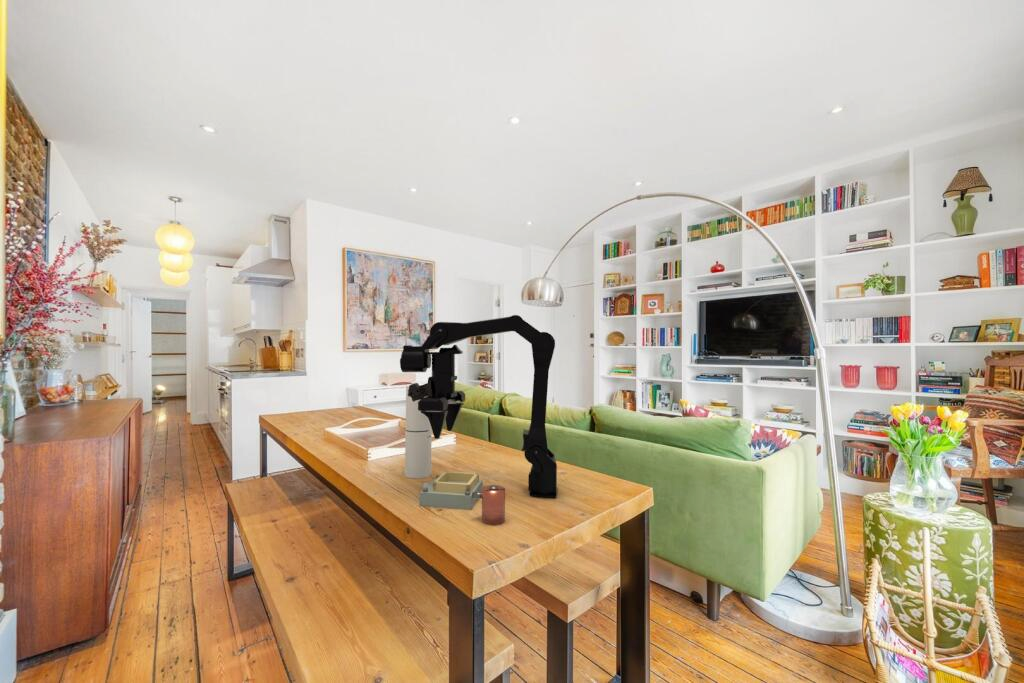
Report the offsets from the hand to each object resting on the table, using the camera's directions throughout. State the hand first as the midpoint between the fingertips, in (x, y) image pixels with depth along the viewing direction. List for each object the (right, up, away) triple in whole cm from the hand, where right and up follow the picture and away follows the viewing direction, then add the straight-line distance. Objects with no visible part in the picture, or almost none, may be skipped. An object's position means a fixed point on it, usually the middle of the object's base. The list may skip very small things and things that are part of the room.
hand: (443, 434), depth 103 cm
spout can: (+12, -14, -18) cm, 26 cm away
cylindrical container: (-9, -14, +12) cm, 21 cm away
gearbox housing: (+3, -14, -6) cm, 15 cm away
